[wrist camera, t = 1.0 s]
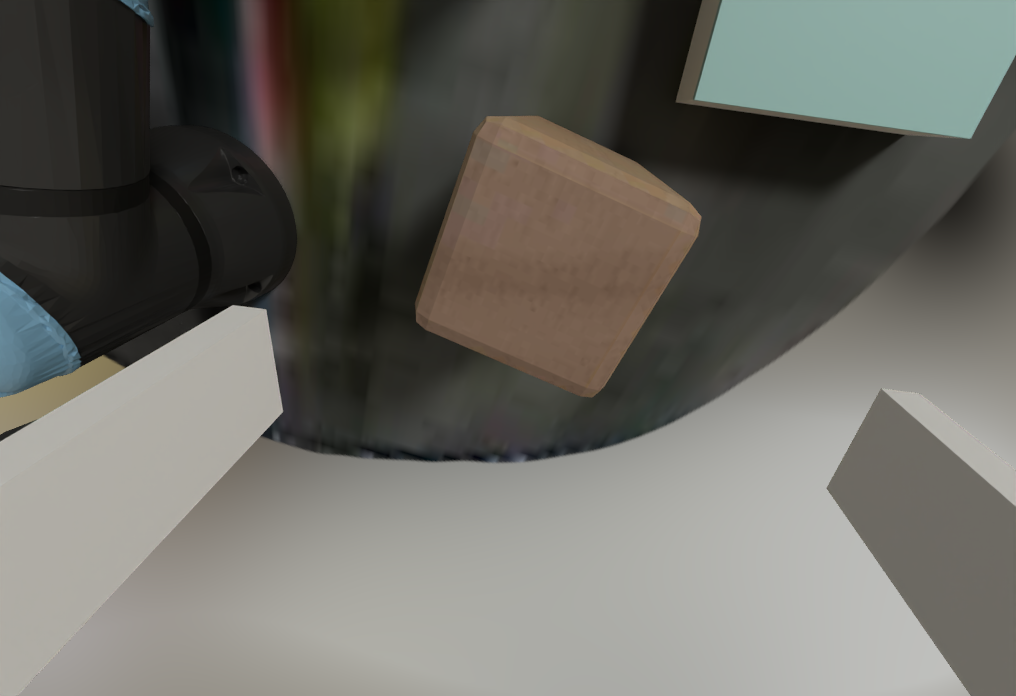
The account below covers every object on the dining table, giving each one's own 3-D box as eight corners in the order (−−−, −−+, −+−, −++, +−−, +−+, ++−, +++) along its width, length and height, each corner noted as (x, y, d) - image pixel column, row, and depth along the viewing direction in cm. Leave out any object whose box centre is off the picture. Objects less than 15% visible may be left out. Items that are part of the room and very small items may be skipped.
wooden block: (586, 280, 40) (596, 412, 22) (479, 232, 39) (402, 329, 22) (646, 166, 35) (719, 217, 18) (527, 110, 35) (477, 104, 17)
